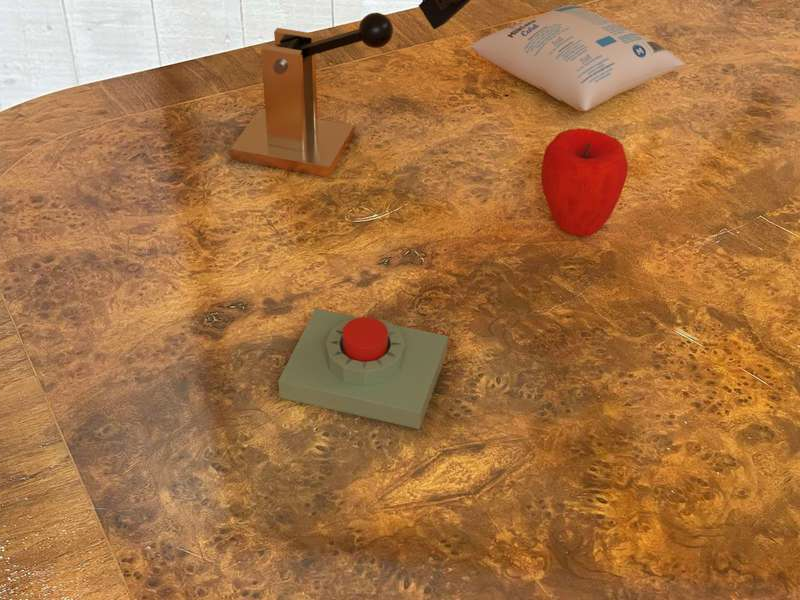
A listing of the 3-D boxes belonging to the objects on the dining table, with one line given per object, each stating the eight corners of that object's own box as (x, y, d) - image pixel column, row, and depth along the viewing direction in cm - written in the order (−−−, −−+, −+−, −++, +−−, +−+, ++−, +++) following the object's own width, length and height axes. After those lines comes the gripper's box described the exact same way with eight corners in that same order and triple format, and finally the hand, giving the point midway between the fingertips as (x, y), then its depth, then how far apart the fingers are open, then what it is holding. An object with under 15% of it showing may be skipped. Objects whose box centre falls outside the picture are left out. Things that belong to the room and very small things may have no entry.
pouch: (693, 34, 132) (572, -27, 142) (590, 88, 122) (469, 19, 133) (680, 89, 137) (565, 26, 148) (580, 145, 128) (465, 74, 138)
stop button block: (279, 397, 95) (276, 366, 93) (316, 324, 103) (314, 293, 100) (419, 429, 93) (421, 398, 90) (447, 352, 100) (449, 321, 97)
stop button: (336, 356, 94) (336, 342, 93) (350, 327, 97) (350, 313, 96) (380, 366, 93) (380, 352, 92) (392, 336, 96) (393, 322, 95)
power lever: (402, 33, 114) (388, 2, 112) (392, 49, 111) (379, 18, 109) (291, 65, 120) (276, 36, 118) (279, 80, 117) (264, 52, 116)
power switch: (354, 135, 127) (353, 30, 118) (330, 177, 121) (326, 69, 112) (260, 119, 130) (251, 14, 120) (231, 159, 123) (220, 51, 114)
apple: (518, 214, 116) (528, 130, 109) (583, 192, 120) (596, 109, 112) (566, 260, 111) (580, 174, 103) (632, 236, 114) (650, 151, 107)
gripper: (557, -58, 79) (406, 75, 99) (657, -112, 85) (496, 23, 106) (501, -146, 78) (361, 6, 98) (606, -193, 85) (455, -42, 105)
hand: (431, 14), depth 102 cm, fingers closed
